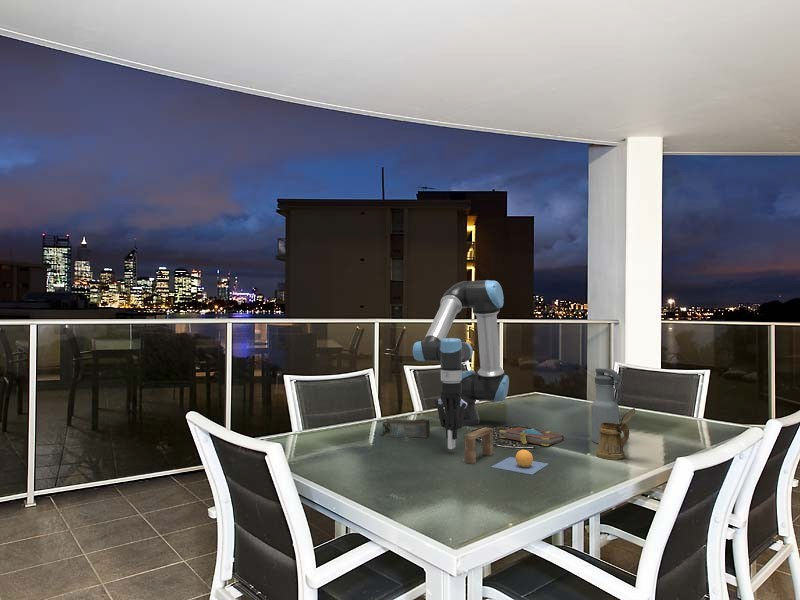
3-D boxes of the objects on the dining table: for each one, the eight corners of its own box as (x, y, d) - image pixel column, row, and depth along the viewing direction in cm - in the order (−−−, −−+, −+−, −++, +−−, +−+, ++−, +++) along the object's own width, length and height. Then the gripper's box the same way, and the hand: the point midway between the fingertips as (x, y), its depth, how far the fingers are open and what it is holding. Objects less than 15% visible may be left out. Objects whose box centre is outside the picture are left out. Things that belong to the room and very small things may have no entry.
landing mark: (509, 457, 185) (509, 456, 185) (548, 464, 176) (548, 463, 176) (491, 467, 173) (491, 466, 173) (532, 474, 165) (532, 474, 165)
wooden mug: (629, 464, 176) (628, 409, 176) (591, 456, 186) (590, 404, 187) (642, 459, 181) (641, 406, 182) (604, 451, 192) (604, 401, 192)
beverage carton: (385, 432, 225) (385, 417, 225) (430, 434, 221) (430, 418, 221) (381, 437, 217) (381, 421, 217) (428, 438, 213) (428, 422, 214)
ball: (530, 468, 175) (516, 458, 178) (538, 454, 174) (523, 444, 177) (524, 472, 170) (510, 462, 173) (532, 458, 169) (517, 448, 172)
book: (510, 434, 226) (510, 422, 226) (565, 443, 209) (565, 430, 209) (488, 438, 214) (488, 426, 214) (544, 449, 197) (545, 435, 197)
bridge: (464, 462, 179) (464, 435, 179) (485, 453, 191) (484, 427, 191) (472, 464, 177) (472, 436, 177) (492, 454, 189) (492, 428, 189)
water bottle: (624, 442, 205) (623, 369, 206) (614, 447, 198) (613, 371, 199) (598, 437, 212) (597, 367, 213) (587, 442, 205) (586, 369, 206)
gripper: (430, 381, 192) (430, 447, 191) (461, 384, 184) (462, 453, 183) (441, 379, 198) (441, 443, 197) (472, 381, 190) (472, 448, 190)
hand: (451, 448), depth 190 cm, fingers closed
